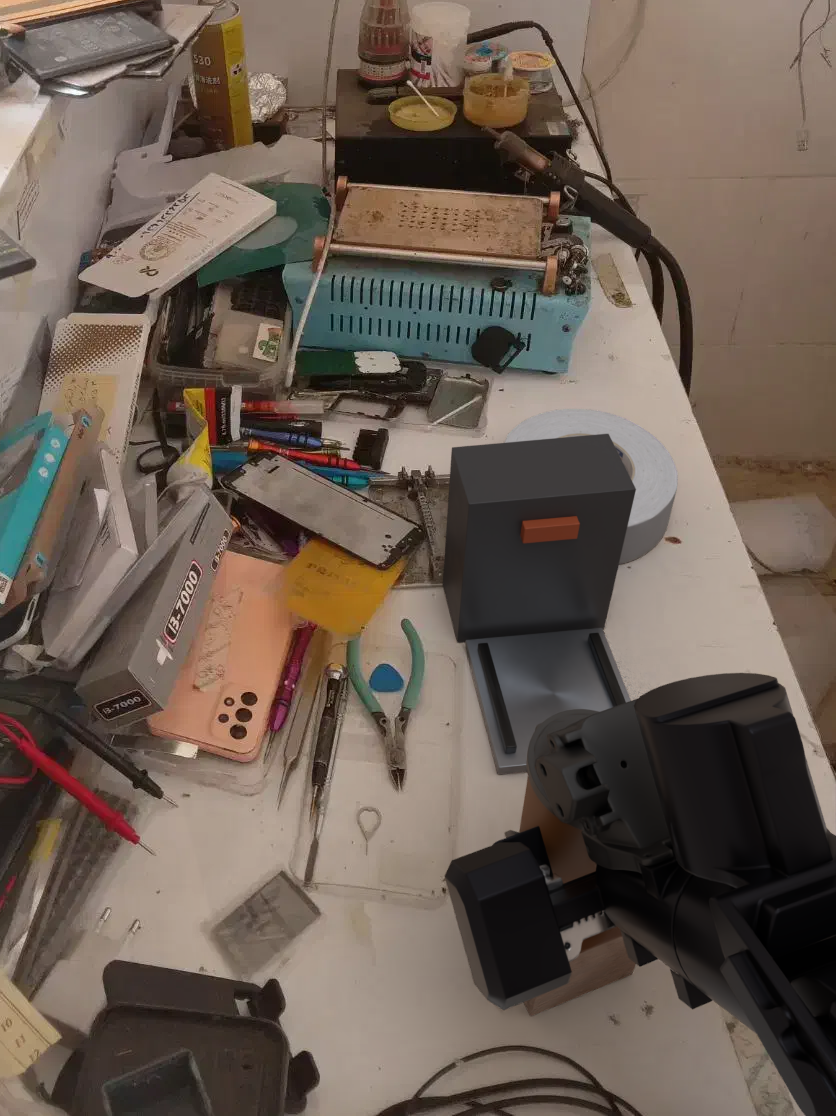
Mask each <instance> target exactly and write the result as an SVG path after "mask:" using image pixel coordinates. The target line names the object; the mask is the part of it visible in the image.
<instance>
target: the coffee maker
mask: <svg viewBox="0 0 836 1116" xmlns="http://www.w3.org/2000/svg"><path fill="white" fill-rule="evenodd" d="M450 453H451V454H450V456H451V457H450V467H449V468H450V470H449V484H448V486H449V487H448V496H447V497H448V500H447V514H446V529H445V542H444V543H445V544H444V559H443V573H442V588H443V592H444V597H445V600H446V604H447V607H448V611H449V612H448V613H449V615H450V620H451V624H452V628H453V632H454V635H455V636H454V637H455V639H456V643H459V644H460V643H466V640H471V639H482V638H493V637H504V636H515V635H525V634H536V633H547V632H558V631H569V630H580V629H591V628H602V629H603V630H605V627H606V623H607V617H608V613H609V609H610V605H611V602H612V596H613V591H614V588H615V584H616V583H615V582H616V578H617V574H618V569H619V565H620V564H619V562H620V557H621V553H622V549H623V544H624V540H625V535H626V531H627V527H628V522H629V518H630V514H631V509H632V505H633V501H634V496H635V492H636V488H635V486H634V484H633V482H632V480H631V478H630V476H629V474H628V472H627V470H626V468H625V466H624V464H623V462H622V460H621V458H620V456H619V454H618V452H617V450H616V448H615V446H614V444H613V442H612V440H611V437H610V435H609V434H597V435H586V436H575V437H563V438H552V439H541V440H530V441H518V442H507V443H504V442H497V443H496V442H495V443H485V444H476V445H475V444H474V445H463V446H462V445H461V446H452V447H451V452H450Z"/></svg>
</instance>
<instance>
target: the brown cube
mask: <svg viewBox="0 0 836 1116" xmlns="http://www.w3.org/2000/svg"><path fill="white" fill-rule="evenodd" d="M569 964H570V967H571V971H572V973H571V977H570V980H569V984H566V985H564V986H561V987H559V988H557V989H554V990H552V991H549V992H547V993H544V994H542V995H540V996H537V997H535V998H532V999H530V1000H528V1001H525V1002H523V1005H524V1006H525V1008H526V1011H527V1012H528V1014H529V1016H530V1017H533V1016H536V1015H538V1014H540V1013H542V1012H546V1011H547V1010H551V1009H552V1008H555V1007H557V1006H559V1005H562V1004H564V1003H567V1002H569V1001H571V1000H574V999H577V998H579V997H581V996H583V995H586V994H588V993H590V992H593V991H595V990H598V989H600V988H603V987H605V986H607V985H610V984H612V983H615V982H617V981H619V980H622V979H624V978H627V977H629V976H631V975H633V973H634V971H635V968H636V966H637V964H636V963H634V962H633V961H632V960H631V959H629V958H628V955H627V951H626V948H625V944H624V941H623V938H622V934H621V931H620V928H618V927H617V926H616V927H614V928H612V929H609V930H607V931H604V932H602V933H599V934H597V935H594V936H592V937H589V938H587V939H585V940H583V942H582V945H581V951H580V953H579V955H578V957H577V958H576V959H574V960H573V961H571V962H569Z"/></svg>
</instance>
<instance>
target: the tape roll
mask: <svg viewBox="0 0 836 1116" xmlns="http://www.w3.org/2000/svg"><path fill="white" fill-rule="evenodd" d="M597 434H609V435H610V437H611V440H612V442H613V444H614V446H615V448H616V450H617V452H618V454H619V456H620V458H621V460H622V462H623V464H624V466H625V468H626V470H627V472H628V474H629V476H630V478H631V480H632V482H633V484H634V486H635V488H636V492H635V496H634V501H633V505H632V509H631V514H630V518H629V522H628V527H627V531H626V535H625V540H624V544H623V549H622V553H621V557H620V562H619V565H623V564H628V563H630V562H633V561H635V560H637V559H639V558H642V557H643V556H645V555H647V554H648V553H649V552H651V551H652V550H653V549H654V548H656V546H657V545H658V544H659V543H660V542H661V540H663V539H662V538H663V537H664V535H665V534H666V531H667V529H668V525H669V522H670V518H671V513H672V509H673V505H674V502H675V499H676V494H677V491H678V486H679V485H678V484H679V473H678V469H677V466H676V463H675V461H674V459H673V456H672V455H671V453H670V451H669V450H668V449H667V448H666V447H665V445H664V443H662V442H661V440H659V439H658V438H657V437H656V436H655V435H654V434H653V433H651V432H650V431H648V430H647V429H645V427H642V426H641V425H639V424H638V423H636V422H634V421H632V420H630V419H628V418H626V417H623V416H621V415H617V414H614V413H611V412H607V411H602V410H597V409H591V408H589V409H588V408H561V409H554V410H549V411H544V412H542V413H538V414H535V415H533V416H530V417H528V418H525V420H523V421H521V422H519V423H518V424H516V426H515V427H513V429H511V431H510V432H508V433H507V435H506V437H505V440H504V441H503V443H507V442H518V441H530V440H541V439H552V438H563V437H575V436H586V435H597Z"/></svg>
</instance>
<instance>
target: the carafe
mask: <svg viewBox="0 0 836 1116" xmlns="http://www.w3.org/2000/svg"><path fill="white" fill-rule="evenodd" d="M598 712H599V711H594V710H587V709H573V710H566V711H563V712H559V713H557V714H555V715H552V716H551V717H549V718H548V719H546V720H545V721H544V722H542V723H540V724H538V725H537V726H536V728H535V732H534V733H533V735H532V737H531V740H530V742H529V747H528V752H527V761H526V765H527V772H526V773H527V778H526V779H527V780H526V786H525V791H524V797H523V798H524V799H523V806H522V812H521V818H520V825H519V831H518V833H520V832H523V831H526V830H528V829H531V828H534V827H536V826H539V827H540V830H541V834H542V837H543V841H544V844H545V848H546V851H547V855H548V858H549V862H550V865H551V869H552V872H553V873H556V874H557V875H559V876H560V877H561V878H562V881H563V884H564V883H566V882H569V881H572V880H574V879H577V878H579V877H582V876H584V875H587V874H590V873H592V872H595V871H596V864H595V862H593V861H592V860H591V859H590V858H589V856H588V853H587V849H586V846H585V842H584V839H583V836H582V831H584V828H583V826H582V824H581V822H580V821H578V820H575V821H572V822H569V823H563V822H561V821H560V820H559V819H558V818H557V817H556V815H555V814H554V812H553V809H552V807H551V804H550V802H549V799H548V797H547V795H546V792H545V790H544V787H543V785H542V782H541V780H540V777H539V775H538V773H537V768H536V761H537V759H538V758H540V757H543V756H545V755H548V754H549V752H550V747H549V744H548V741H547V735H548V734H550V733H553V732H556V731H558V730H561V729H564V728H566V727H567V726H569V725H571V724H573V723H575V722H577V721H579V720H581V719H584V718H586V717H588V716H590V715H592V714H595V713H598Z"/></svg>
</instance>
